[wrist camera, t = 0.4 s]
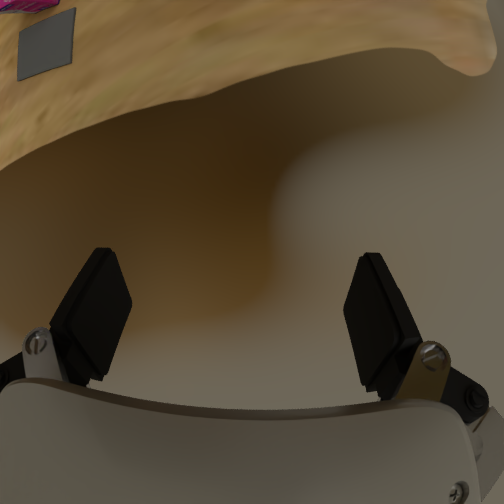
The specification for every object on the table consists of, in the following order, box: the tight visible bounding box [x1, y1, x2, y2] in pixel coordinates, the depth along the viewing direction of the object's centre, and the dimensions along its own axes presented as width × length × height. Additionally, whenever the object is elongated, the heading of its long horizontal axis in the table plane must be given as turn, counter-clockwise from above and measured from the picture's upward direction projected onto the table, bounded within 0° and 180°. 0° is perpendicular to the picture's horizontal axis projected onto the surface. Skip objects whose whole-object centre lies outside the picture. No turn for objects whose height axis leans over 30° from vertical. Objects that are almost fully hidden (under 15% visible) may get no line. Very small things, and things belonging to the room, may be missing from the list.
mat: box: [17, 7, 76, 81], centre depth 24 cm, size 10×13×1 cm
